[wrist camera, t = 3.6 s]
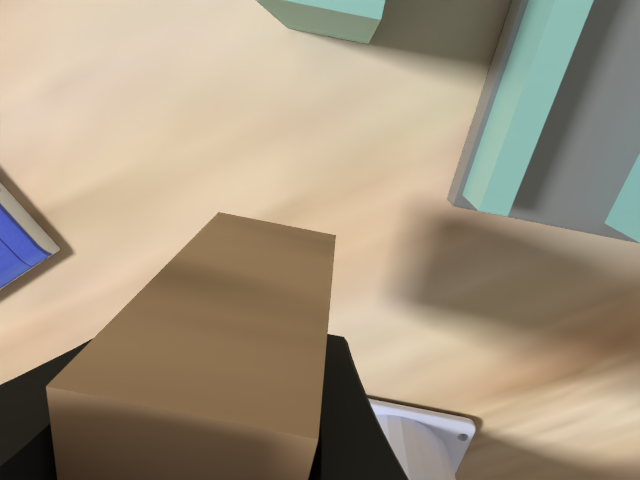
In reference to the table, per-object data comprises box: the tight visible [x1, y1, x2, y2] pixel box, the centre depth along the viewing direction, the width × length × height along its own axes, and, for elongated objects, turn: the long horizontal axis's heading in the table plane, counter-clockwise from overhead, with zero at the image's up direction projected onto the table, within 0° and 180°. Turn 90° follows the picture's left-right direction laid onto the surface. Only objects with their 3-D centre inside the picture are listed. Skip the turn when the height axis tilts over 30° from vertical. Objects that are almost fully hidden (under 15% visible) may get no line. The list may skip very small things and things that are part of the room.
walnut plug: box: [46, 212, 336, 480], centre depth 8 cm, size 5×3×6 cm, turn 170°
